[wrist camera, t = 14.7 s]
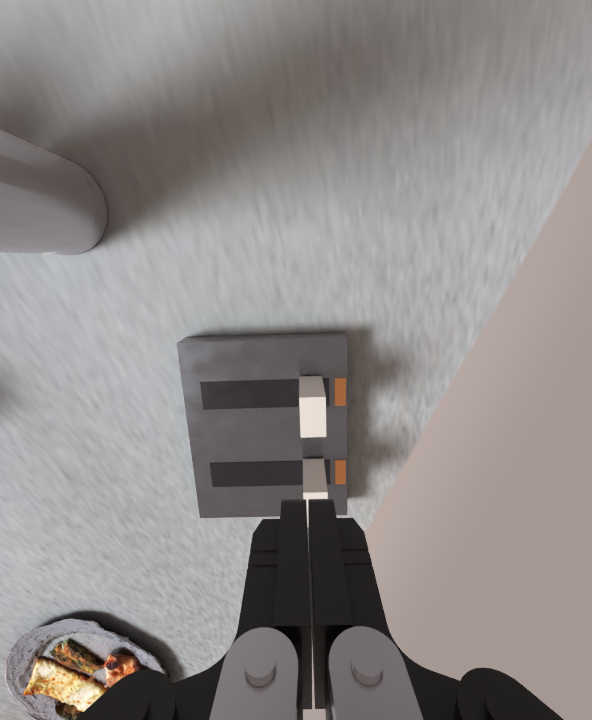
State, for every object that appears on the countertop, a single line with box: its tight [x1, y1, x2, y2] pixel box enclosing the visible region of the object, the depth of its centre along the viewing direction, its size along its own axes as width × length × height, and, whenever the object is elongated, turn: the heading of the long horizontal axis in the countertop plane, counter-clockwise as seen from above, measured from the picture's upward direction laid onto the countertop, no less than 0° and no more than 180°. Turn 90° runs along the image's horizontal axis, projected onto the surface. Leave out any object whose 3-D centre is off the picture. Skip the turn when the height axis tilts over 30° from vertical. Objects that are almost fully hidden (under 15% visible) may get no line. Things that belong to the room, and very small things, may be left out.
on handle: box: [299, 376, 326, 438], centre depth 34 cm, size 2×4×6 cm, turn 2°
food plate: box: [4, 619, 170, 720], centre depth 53 cm, size 25×23×4 cm
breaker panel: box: [177, 332, 348, 518], centre depth 40 cm, size 18×22×3 cm
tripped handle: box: [303, 459, 328, 527], centre depth 37 cm, size 2×4×6 cm, turn 2°
